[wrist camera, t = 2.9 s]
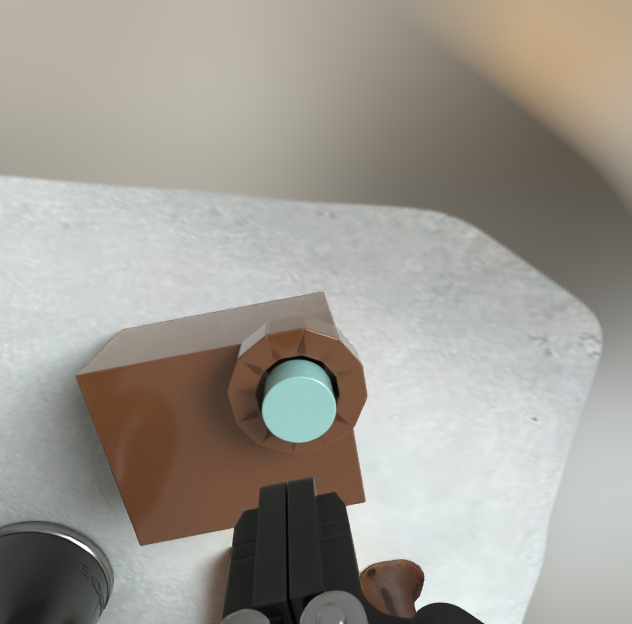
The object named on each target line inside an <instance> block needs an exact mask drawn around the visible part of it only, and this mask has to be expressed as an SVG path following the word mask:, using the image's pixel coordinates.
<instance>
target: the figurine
mask: <svg viewBox="0 0 632 624" xmlns="http://www.w3.org/2000/svg"><path fill="white" fill-rule="evenodd" d="M360 580H361V585H362V590H363V594H364V596H365V598H366V599H367V601H368V602H369V603H370V604H371V605H372V606H373V607H374V608H376V609H377V610H379V611H381V612H382V613H385V614H388V615H391V616H396V617H404V618H412V617H413V616H414V614H415V613H416V610H415V606H414V603H415V601H416V600H417V599H418V597H419V596H420V594H421V591H422V587H423V583H424V573H423V571H422V570H421V568H420V566H418V565H417V564H415V563H413V562H411V561H408V560H394V561H387V562H382V563H377V564H374V565H372V566H371V567H368V569H367V570H366V571H365V572H364V573H363V575H362V576H361V579H360Z"/></svg>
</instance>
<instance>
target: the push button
mask: <svg viewBox="0 0 632 624" xmlns="http://www.w3.org/2000/svg"><path fill="white" fill-rule="evenodd" d="M335 415H336V402H335V397H334V393H333V389H332V384H331V381H330V378H329V376H328V375H327V373H326V372H325V371H324V370H323V369H322V368H321V367H320V366H319V365H317V364H315V363H313V362H310V361H307V360H290V361H287V362H284V363H282V364H280V365H278V366H277V367H275V368H274V369H273V370H272V371H271V372H270V374H269V375H268V377H267V378H266V381H265V384H264V389H263V400H262V417H263V420H264V423H265V425H266V426H267V428H268V429H269V430H270V431H271V433H273V434H274V435H275V436H277V437H278V438H280V439H282V440H285V441H288V442H295V443H302V442H308V441H311V440H314V439H316V438H318V437H320V436H321V435H323V434H324V433H325V432H326V431H327V430H328V429H329V428H330V426H331V425H332V423H333V421H334V418H335Z"/></svg>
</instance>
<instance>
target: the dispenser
mask: <svg viewBox="0 0 632 624" xmlns="http://www.w3.org/2000/svg"><path fill="white" fill-rule="evenodd" d="M290 360H307V361H310V362H313V363H315V364H317V365H319V366H320V367H321V368H322V369H323V370H324V371H325V372H326V373H327V375H328V376H329V378H330V381H331V384H332V389H333V393H334V397H335V402H336V415H335V418H334V421H333V423H332V425H331V426H330V428H329V429H328V430H327V431H326V432H325V433H324V434H323V435H321V436H320V437H318V438H316V439H314V440H311V441H308V442H302V443H295V442H288V441H285V440H282V439H280V438H278V437H277V436H275V435H274V434H273V433H271V431H270V430H269V429H268V428H267V426H266V425H265V423H264V420H263V417H262V400H263V389H264V384H265V381H266V378H267V377H268V375H269V374H270V372H271V371H272V370H273V369H274V368H275V367H277V366H278V365H280V364H282V363H284V362H287V361H290ZM76 378H77V381H78V384H79V386H80V389H81V392H82V394H83V397H84V399H85V402H86V405H87V407H88V410H89V413H90V415H91V418H92V420H93V423H94V426H95V428H96V431H97V433H98V436H99V439H100V441H101V444H102V447H103V449H104V452H105V454H106V457H107V460H108V462H109V465H110V467H111V470H112V473H113V475H114V478H115V481H116V483H117V486H118V488H119V491H120V494H121V496H122V499H123V502H124V504H125V507H126V509H127V512H128V515H129V517H130V520H131V522H132V525H133V528H134V530H135V533H136V536H137V538H138V541H139V543H140V545H141V546H143V545H148V544H153V543H158V542H163V541H168V540H174V539H179V538H184V537H189V536H194V535H199V534H204V533H209V532H215V531H220V530H225V529H230V528H234V527H235V525H236V524H237V522H238V520H239V518H240V517H241V515H242V513H243V512H244V511H246V510H251V509H255V508H258V505H259V491H260V487H264V486H269V485H274V484H279V483H283V482H286V483H287V484H288V481H292V480H297V479H302V478H307V477H311V476H313V477H314V480H315V484H316V489H317V493H318V495H321V494H326V493H331V492H336V493H337V495H338V496H339V497H340V498H341V499H342V501H343V502H344V503H345V506H348V505H353V504H358V503H363V502H365V501H366V499H365V494H364V488H363V482H362V476H361V470H360V464H359V459H358V453H357V447H356V441H355V435H354V429H353V428H354V426H355V424H356V422H357V420H358V418H359V415H360V413H361V411H362V408H363V406H364V404H365V402H366V399H367V390H366V383H365V377H364V371H363V365H362V363H361V361H360V358H359V356H358V353H357V351H356V349H355V348H354V346H353V345H352V344H351V343H350V342H349V341H348V340H347V339H346V337H345V336H344V335H343V334H342V333H341V332H340V331H339V330H338V328H337V327H336V326H335V323H334V320H333V317H332V314H331V311H330V308H329V305H328V302H327V299H326V296H325V293H324V292H319V293H313V294H308V295H303V296H297V297H292V298H287V299H282V300H276V301H271V302H266V303H260V304H255V305H250V306H244V307H239V308H234V309H228V310H223V311H218V312H213V313H207V314H202V315H197V316H191V317H186V318H181V319H175V320H170V321H165V322H159V323H154V324H149V325H143V326H138V327H133V328H128V329H123V330H122V331H120V332H119V333H118V334H117V335H116V336H115V337H114V338H113V339H112V340H111V341H110V342H109V343H108V344H107V345H106V346H105V347H104V348H103V349H102V350H101V351H100V352H99V353H98V354H97V355H96V356H95V357H94V358H93V359H92V360H91V361H90V362H89V363H88V364H87V365H86V366H85V367H84V368H83V369H82V370H81V371H80V372H79V373H78V374H77V375H76Z"/></svg>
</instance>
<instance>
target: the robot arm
mask: <svg viewBox="0 0 632 624" xmlns="http://www.w3.org/2000/svg"><path fill="white" fill-rule="evenodd" d="M232 546H233V547H232V549H231V557H230V559H231V562H230V565H229V572H228V580H227V587H226V595H225V603H224V610H223V617H222V621H221V622H219V623H218V624H484V623H483V622H481V621H480V620H478V619H477V618H475V617H474V616H472V615H471V614H469V613H468V612H466V611H465V610H463V609H461V608H460V607H458V606H455V605H453V604H449V603H432V604H428V605H426V606H424V607H422V608H421V609H419V610H418V611H417V612H416V613H415V614H414V616H413V617H412V618H404V617H396V616H391V615H388V614H385V613H382V612H381V611H379V610H377V609H376V608H374V607H373V606H372V605H371V604H370V603H369V602H368V601H367V599H366V598H365V596H364V594H363V590H362V585H361V580H360V575H359V570H358V565H357V559H356V554H355V549H354V544H353V539H352V534H351V530H350V525H349V520H348V515H347V511H346V506H345V503H344V502H343V501H342V499H341V498H340V497H339V496H338V495H337V493H336V492H331V493H326V494H321V495H318V493H317V489H316V484H315V480H314V477H313V476H311V477H307V478H302V479H297V480H292V481H288V484H287V483H286V482H283V483H279V484H274V485H269V486H264V487H260V491H259V505H258V508H255V509H251V510H246V511H244V512H243V513H242V515H241V517H240V518H239V520H238V522H237V524H236V525H235V527H234V534H233V542H232ZM113 582H114V578H113V571H112V567H111V564H110V562H109V560H108V558H107V557H106V555H105V554H104V552H103V551H102V550H101V549H100V548H99V547H98V546H97V545H96V544H95V543H94V542H93V541H92V540H90V539H89V538H87V537H86V536H84V535H83V534H81V533H79V532H77V531H75V530H72V529H70V528H67V527H64V526H61V525H57V524H52V523H46V522H23V523H17V524H13V525H9V526H6V527H3V528H1V529H0V624H97V623H98V621H99V618H100V616H101V614H102V612H103V610H104V609H105V607H106V605H107V603H108V600H109V598H110V595H111V592H112V589H113Z"/></svg>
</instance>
